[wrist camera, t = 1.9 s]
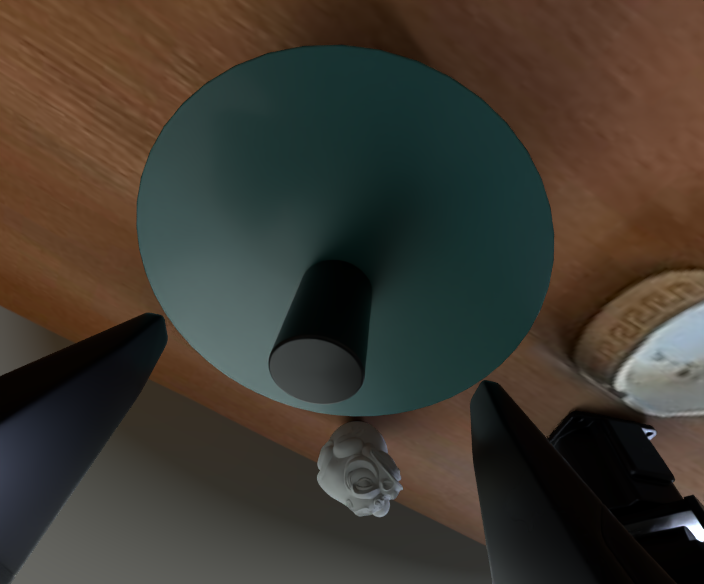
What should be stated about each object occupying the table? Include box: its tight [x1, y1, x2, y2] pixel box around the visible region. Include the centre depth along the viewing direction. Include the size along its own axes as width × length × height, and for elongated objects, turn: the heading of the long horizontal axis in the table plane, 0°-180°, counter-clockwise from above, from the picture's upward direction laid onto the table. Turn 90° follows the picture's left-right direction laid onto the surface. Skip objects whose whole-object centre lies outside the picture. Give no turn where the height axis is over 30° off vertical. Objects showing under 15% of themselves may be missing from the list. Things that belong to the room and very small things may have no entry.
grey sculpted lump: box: [317, 421, 403, 517], centre depth 27 cm, size 6×7×7 cm
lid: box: [137, 45, 554, 416], centre depth 11 cm, size 14×14×5 cm
